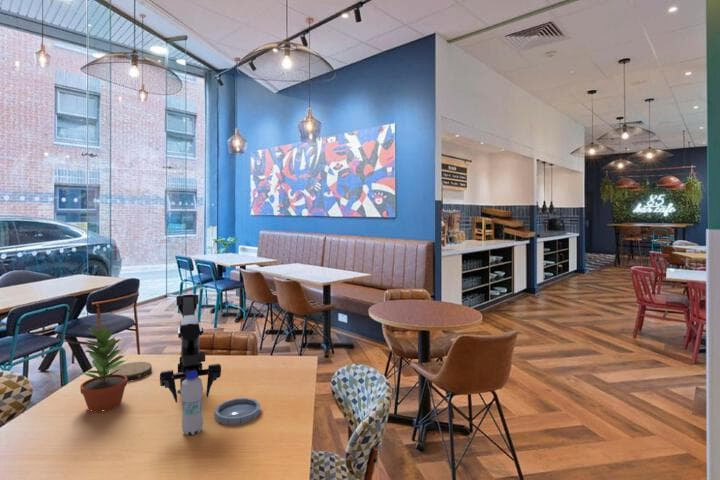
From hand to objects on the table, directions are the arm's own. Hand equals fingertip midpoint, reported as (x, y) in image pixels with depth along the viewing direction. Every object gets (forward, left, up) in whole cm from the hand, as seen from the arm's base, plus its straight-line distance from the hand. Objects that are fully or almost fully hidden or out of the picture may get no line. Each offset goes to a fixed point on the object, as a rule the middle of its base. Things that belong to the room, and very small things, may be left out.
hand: (192, 399), depth 128 cm
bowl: (+6, +15, -10) cm, 19 cm away
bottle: (0, 0, -11) cm, 11 cm away
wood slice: (-60, +26, -11) cm, 66 cm away
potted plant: (-43, +2, -11) cm, 44 cm away
